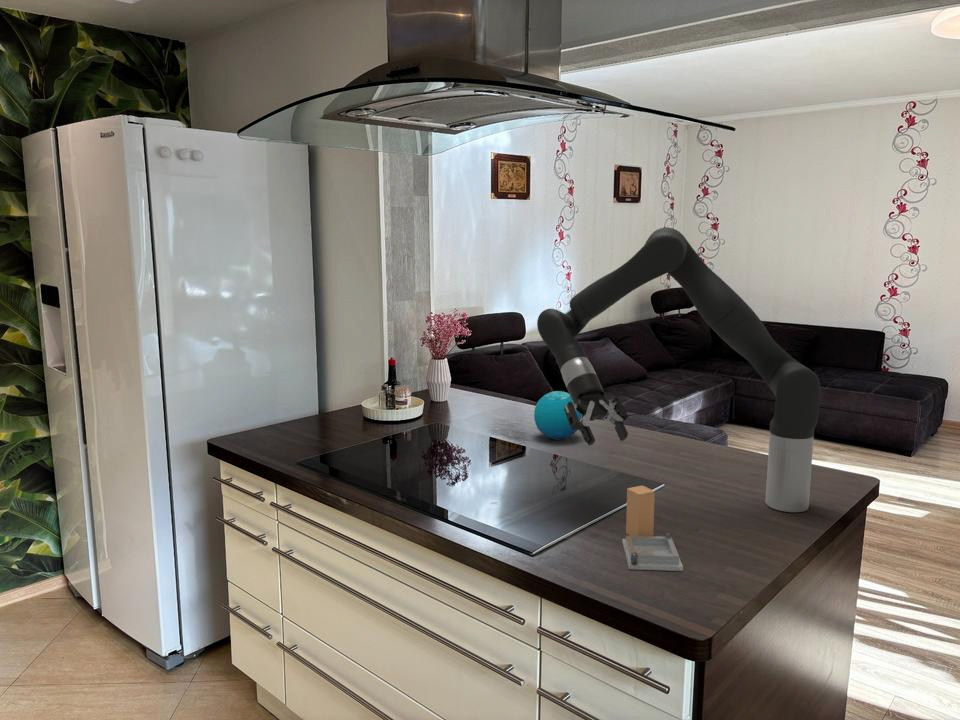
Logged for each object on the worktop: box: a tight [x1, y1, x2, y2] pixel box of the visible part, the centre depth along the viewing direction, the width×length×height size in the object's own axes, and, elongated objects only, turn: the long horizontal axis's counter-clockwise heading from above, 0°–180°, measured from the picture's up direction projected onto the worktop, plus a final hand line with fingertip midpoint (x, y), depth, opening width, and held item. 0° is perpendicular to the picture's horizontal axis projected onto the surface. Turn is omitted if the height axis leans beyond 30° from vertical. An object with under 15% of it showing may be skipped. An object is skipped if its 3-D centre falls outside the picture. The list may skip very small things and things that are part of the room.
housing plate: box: [621, 532, 684, 572], centre depth 138 cm, size 12×10×3 cm
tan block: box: [625, 485, 656, 536], centre depth 148 cm, size 4×4×10 cm
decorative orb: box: [533, 390, 582, 440], centre depth 219 cm, size 15×15×15 cm
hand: (608, 441), depth 156 cm, fingers open, 8 cm apart
